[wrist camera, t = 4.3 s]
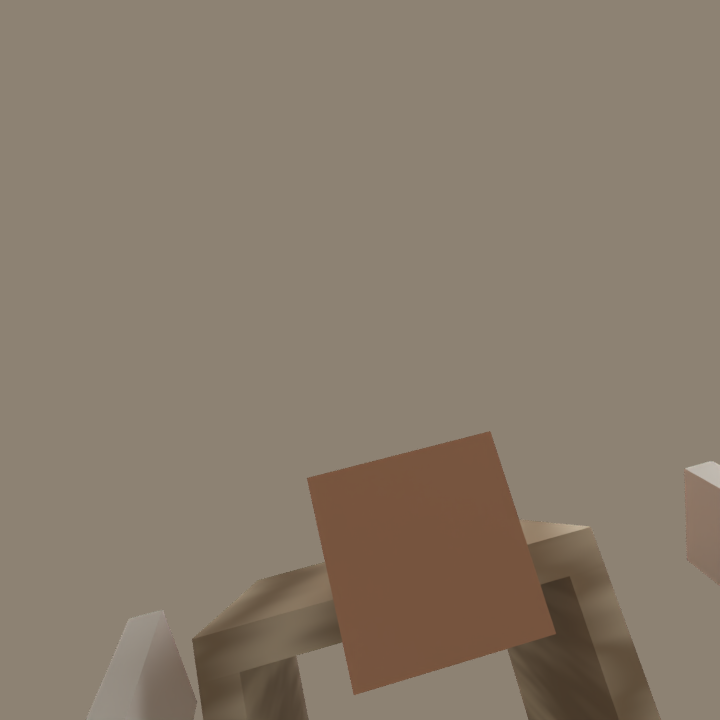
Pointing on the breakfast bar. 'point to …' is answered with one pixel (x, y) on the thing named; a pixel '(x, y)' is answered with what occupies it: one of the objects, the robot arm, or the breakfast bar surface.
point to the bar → (426, 561)
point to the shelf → (530, 660)
